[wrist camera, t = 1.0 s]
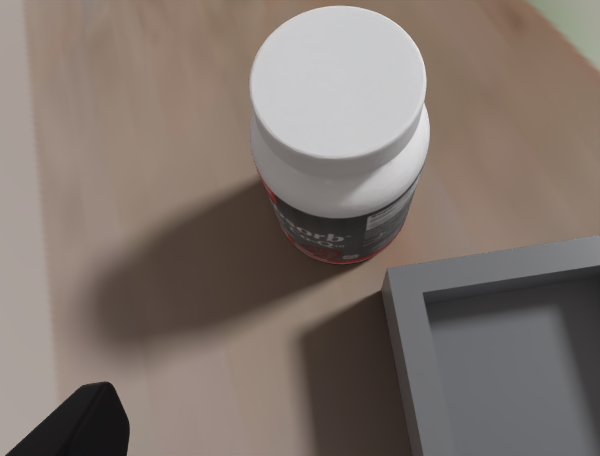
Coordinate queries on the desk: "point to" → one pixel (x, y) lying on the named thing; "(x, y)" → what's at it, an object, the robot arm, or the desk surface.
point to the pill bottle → (339, 129)
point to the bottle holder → (500, 351)
